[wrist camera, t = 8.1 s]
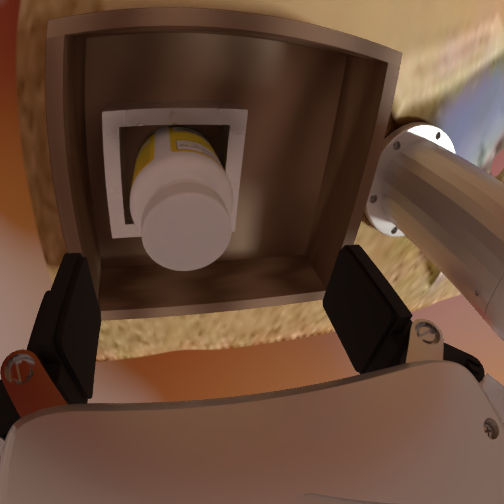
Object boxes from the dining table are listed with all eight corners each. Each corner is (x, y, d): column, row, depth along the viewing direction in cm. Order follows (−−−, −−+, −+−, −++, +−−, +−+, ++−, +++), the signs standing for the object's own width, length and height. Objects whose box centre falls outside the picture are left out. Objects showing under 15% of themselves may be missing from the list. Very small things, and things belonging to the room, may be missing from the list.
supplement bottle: (151, 204, 22) (152, 296, 15) (126, 138, 19) (102, 203, 11) (221, 181, 23) (258, 262, 15) (202, 112, 19) (232, 158, 12)
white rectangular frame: (237, 102, 20) (248, 109, 17) (226, 211, 24) (234, 231, 22) (110, 103, 17) (102, 111, 15) (116, 216, 22) (112, 238, 20)
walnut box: (352, 46, 19) (402, 52, 15) (307, 256, 31) (334, 297, 26) (77, 27, 14) (47, 20, 9) (96, 270, 25) (87, 321, 21)
